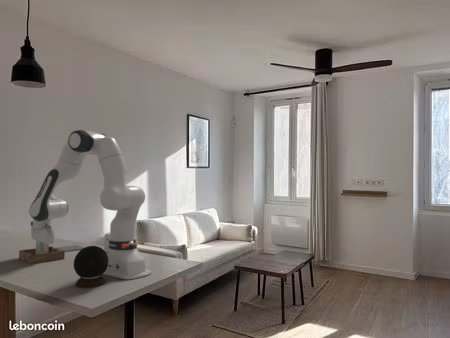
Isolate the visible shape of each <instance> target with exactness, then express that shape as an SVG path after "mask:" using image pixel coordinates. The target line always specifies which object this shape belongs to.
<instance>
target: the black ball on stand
mask: <svg viewBox="0 0 450 338" xmlns="http://www.w3.org/2000/svg"><path fill="white" fill-rule="evenodd" d="M84 247H85V246H84ZM107 253H108V252H105V251H104V249H103V248H102V247H100V246H98V245H97V246H96V245H88V246H86V247H85V248H83V249H82V250H78V252H77V253H76V254H75V256H74V260H73V269H74V272H75V273H76V274H77V276H78V277H79V278H78V279H77V280H76V282H75V286H76V287H78V288H80V289H91V288H97V287H102V286H104V285H105V284H106V279H105V277H103V276H102V275H104V274H103V273H104V272H105V271H106V269H107V267H108V262H109V261H108V255H107Z"/></svg>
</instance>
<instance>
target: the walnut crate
mask: <svg viewBox="0 0 450 338" xmlns="http://www.w3.org/2000/svg"><path fill="white" fill-rule="evenodd" d="M65 253H66V252H65V251H63V250H61V249H58V248H57V247H55V246H53V245H51V246H49V250H48V253H44V254H37V255H36V247H35V248H28V249H19V250H18V259H19V260H21V261H24V262H25V263H28V264H29V265H34V264H39V263H40V264H41V263H46V262H53V261H58V260H59V261H60V260H64V259H65V257H66V256H65Z"/></svg>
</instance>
